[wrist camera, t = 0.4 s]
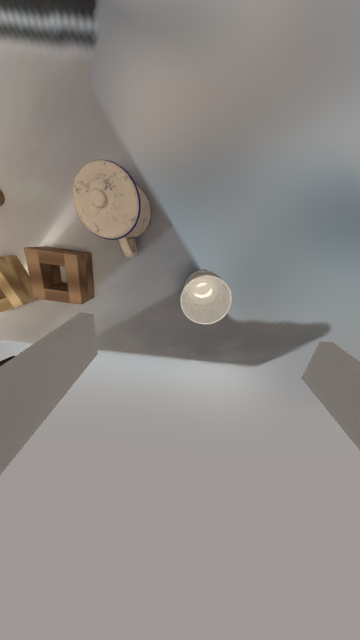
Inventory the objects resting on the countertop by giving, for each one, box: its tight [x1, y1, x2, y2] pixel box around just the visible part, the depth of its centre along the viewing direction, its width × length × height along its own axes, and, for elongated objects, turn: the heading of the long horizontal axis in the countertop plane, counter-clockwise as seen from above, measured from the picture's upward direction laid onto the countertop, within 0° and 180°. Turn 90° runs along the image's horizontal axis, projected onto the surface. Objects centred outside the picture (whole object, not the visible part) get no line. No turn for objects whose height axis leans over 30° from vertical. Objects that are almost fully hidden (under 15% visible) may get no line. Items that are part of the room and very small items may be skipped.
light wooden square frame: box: [0, 256, 37, 312], centre depth 36 cm, size 9×9×5 cm
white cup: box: [180, 270, 232, 324], centre depth 32 cm, size 8×8×10 cm
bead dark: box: [24, 247, 94, 305], centre depth 35 cm, size 9×9×5 cm
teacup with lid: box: [73, 160, 150, 258], centre depth 27 cm, size 12×9×12 cm
